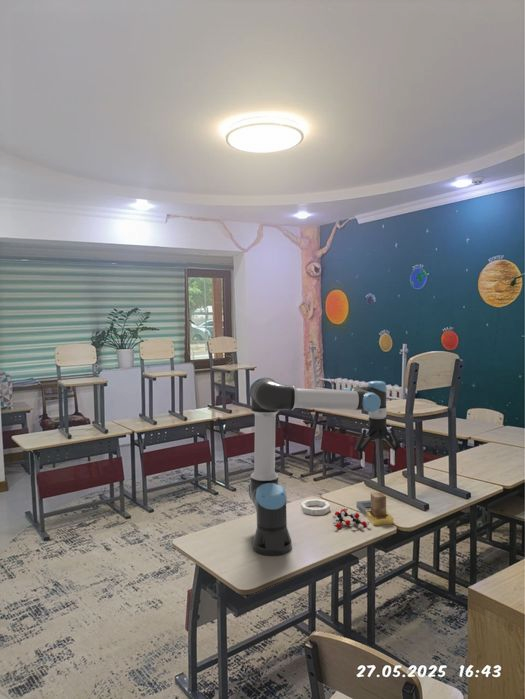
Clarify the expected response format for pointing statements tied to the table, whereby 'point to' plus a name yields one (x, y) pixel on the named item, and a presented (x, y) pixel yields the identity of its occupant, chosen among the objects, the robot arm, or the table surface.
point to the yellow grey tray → (366, 510)
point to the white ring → (317, 510)
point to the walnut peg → (378, 504)
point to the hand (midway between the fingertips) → (377, 465)
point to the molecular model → (353, 515)
